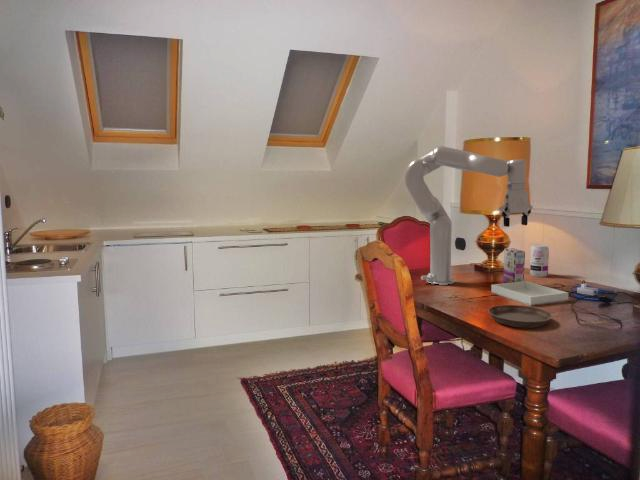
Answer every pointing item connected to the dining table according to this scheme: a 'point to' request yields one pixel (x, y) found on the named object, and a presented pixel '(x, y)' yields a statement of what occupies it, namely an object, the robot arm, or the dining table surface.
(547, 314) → the plant saucer
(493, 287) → the tray
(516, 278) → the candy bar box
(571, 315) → the dining table surface
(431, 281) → the robot arm
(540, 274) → the supplement can
